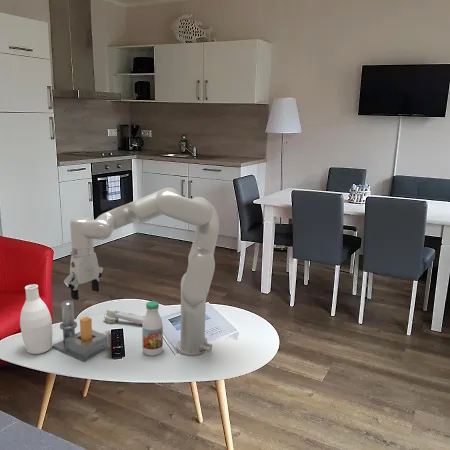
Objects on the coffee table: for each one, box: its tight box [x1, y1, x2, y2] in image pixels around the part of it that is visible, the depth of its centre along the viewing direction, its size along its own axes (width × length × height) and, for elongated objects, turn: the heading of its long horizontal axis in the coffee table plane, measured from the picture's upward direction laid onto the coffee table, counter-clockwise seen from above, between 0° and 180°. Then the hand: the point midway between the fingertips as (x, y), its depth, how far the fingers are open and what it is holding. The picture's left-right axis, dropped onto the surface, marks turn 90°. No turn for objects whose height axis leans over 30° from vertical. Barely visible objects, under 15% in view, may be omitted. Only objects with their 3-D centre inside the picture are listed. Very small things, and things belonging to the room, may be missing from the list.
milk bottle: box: [141, 300, 164, 357], centre depth 175 cm, size 8×8×20 cm
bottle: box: [19, 283, 54, 355], centre depth 172 cm, size 11×11×25 cm
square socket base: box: [51, 299, 111, 363], centre depth 176 cm, size 19×13×17 cm
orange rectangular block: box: [79, 316, 93, 342], centre depth 174 cm, size 3×3×12 cm
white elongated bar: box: [104, 307, 145, 325], centre depth 199 cm, size 5×7×25 cm
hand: (85, 294), depth 171 cm, fingers open, 9 cm apart
